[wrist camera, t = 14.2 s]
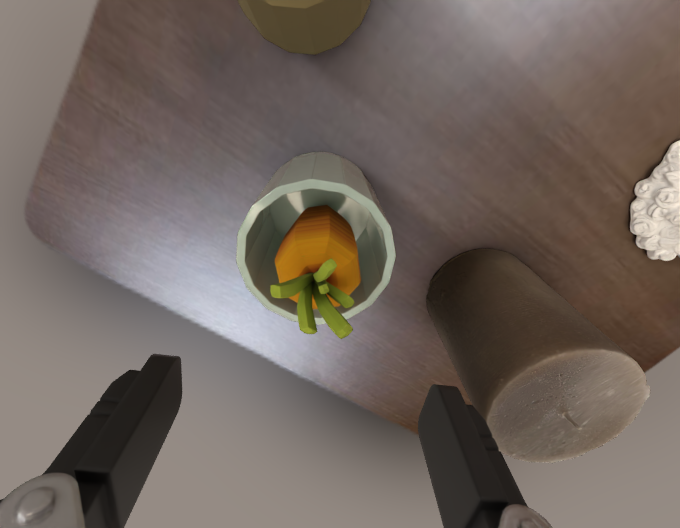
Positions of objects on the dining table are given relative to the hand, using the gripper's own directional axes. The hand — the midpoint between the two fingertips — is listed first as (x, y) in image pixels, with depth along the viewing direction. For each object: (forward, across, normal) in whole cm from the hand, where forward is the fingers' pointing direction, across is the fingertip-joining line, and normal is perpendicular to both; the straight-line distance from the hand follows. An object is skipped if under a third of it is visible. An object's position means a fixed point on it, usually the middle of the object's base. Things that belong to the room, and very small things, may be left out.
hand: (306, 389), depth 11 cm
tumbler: (+20, 0, 0) cm, 20 cm away
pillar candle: (+20, -16, +6) cm, 26 cm away
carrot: (+19, 0, 0) cm, 19 cm away
